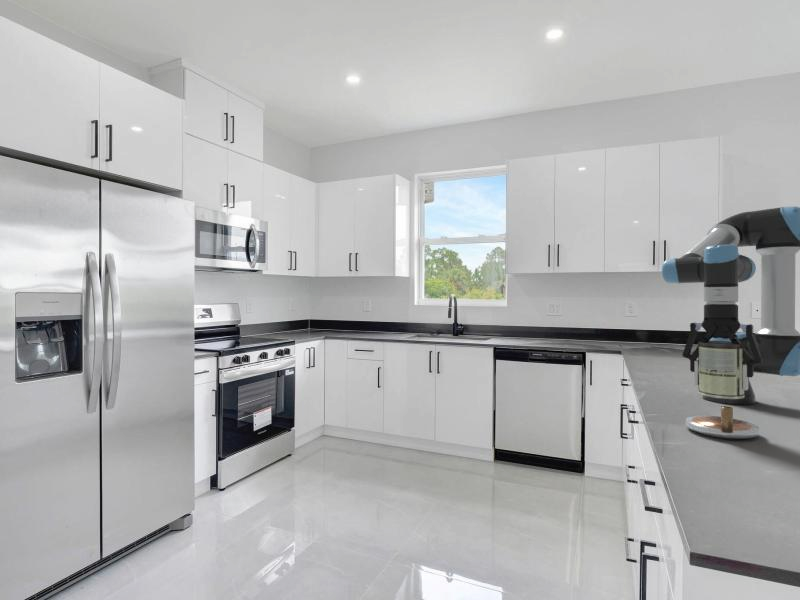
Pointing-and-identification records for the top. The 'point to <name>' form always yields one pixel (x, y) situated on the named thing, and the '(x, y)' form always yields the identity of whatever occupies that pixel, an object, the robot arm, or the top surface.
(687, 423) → the turntable
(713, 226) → the robot arm
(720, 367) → the coffee can
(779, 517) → the top surface
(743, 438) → the turntable base
